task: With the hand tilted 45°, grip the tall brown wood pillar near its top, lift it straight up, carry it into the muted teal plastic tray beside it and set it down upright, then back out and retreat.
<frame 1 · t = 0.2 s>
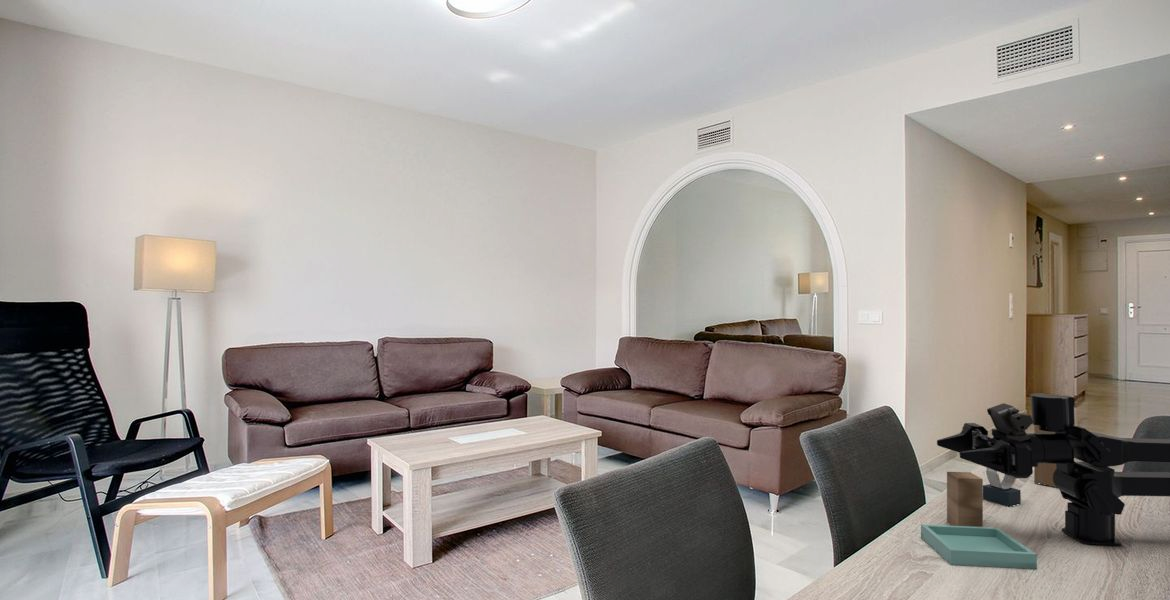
hand: (948, 448, 114), 16 cm above the table, tool horizontal, fingers open, 9 cm apart
tray: (975, 552, 105), on the table
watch: (1001, 502, 131), on the table
tall brown wood pillar: (964, 527, 117), on the table
wooden block: (1059, 487, 142), on the table
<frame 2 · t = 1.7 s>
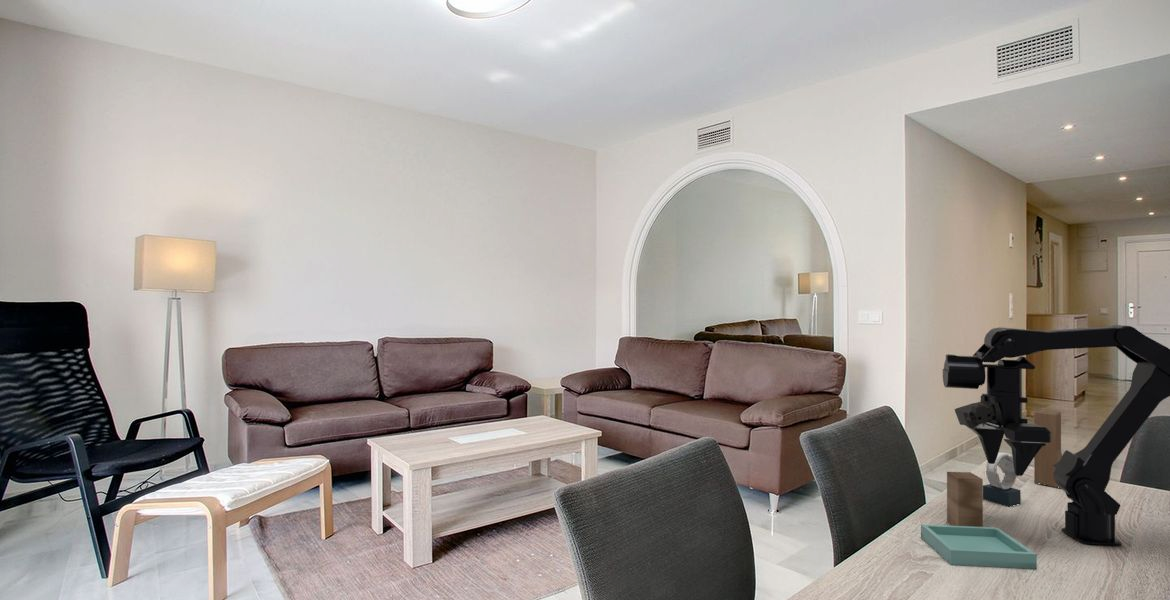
hand: (1004, 469, 116), 12 cm above the table, tool pointing down, fingers open, 9 cm apart
nothing on the table moved.
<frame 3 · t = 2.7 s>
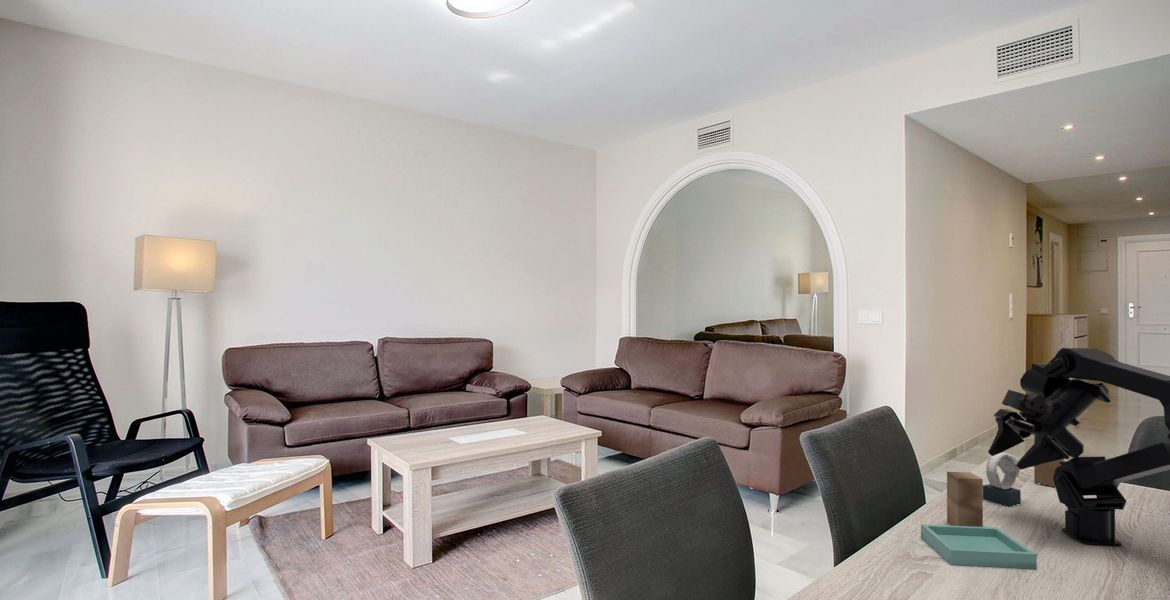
hand: (1003, 460, 116), 14 cm above the table, tool tilted 45°, fingers open, 9 cm apart
nothing on the table moved.
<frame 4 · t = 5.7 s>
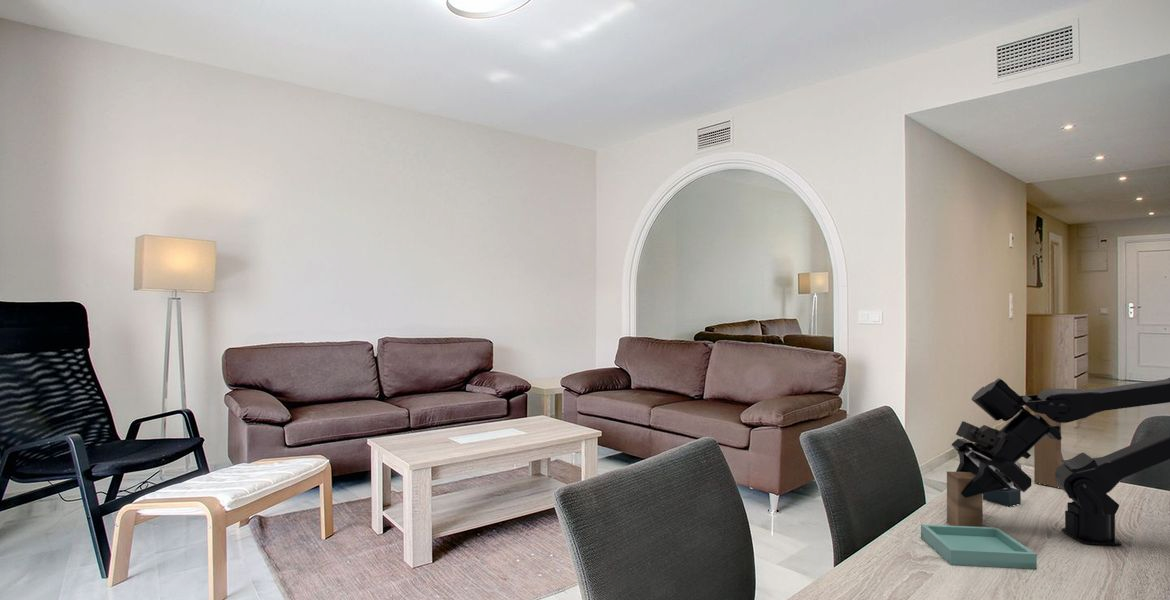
hand: (956, 491, 117), 7 cm above the table, tool tilted 45°, fingers closed on tall brown wood pillar, 4 cm apart
tall brown wood pillar: (964, 527, 117), on the table, touching gripper
everything else where it was.
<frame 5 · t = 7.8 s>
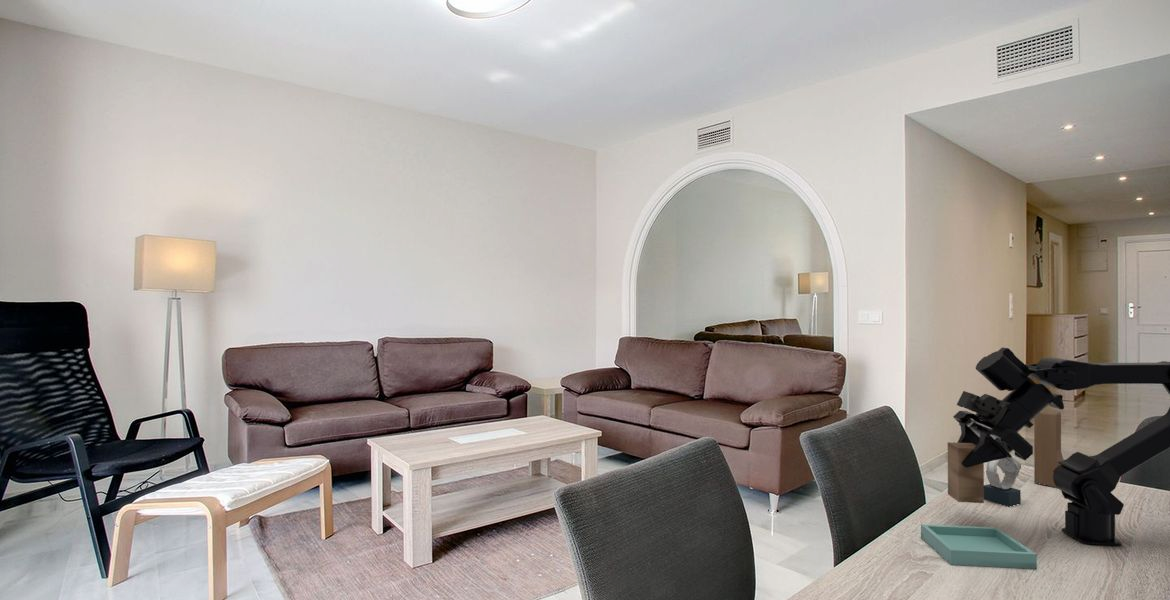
hand: (957, 462, 115), 14 cm above the table, tool tilted 45°, fingers closed on tall brown wood pillar, 4 cm apart
tall brown wood pillar: (965, 498, 115), point 6 cm above the table, touching gripper
everything else where it was.
when the fingers open (10 cm above the table, at t = 10.2 s): tall brown wood pillar drops 1 cm, resting on tray.
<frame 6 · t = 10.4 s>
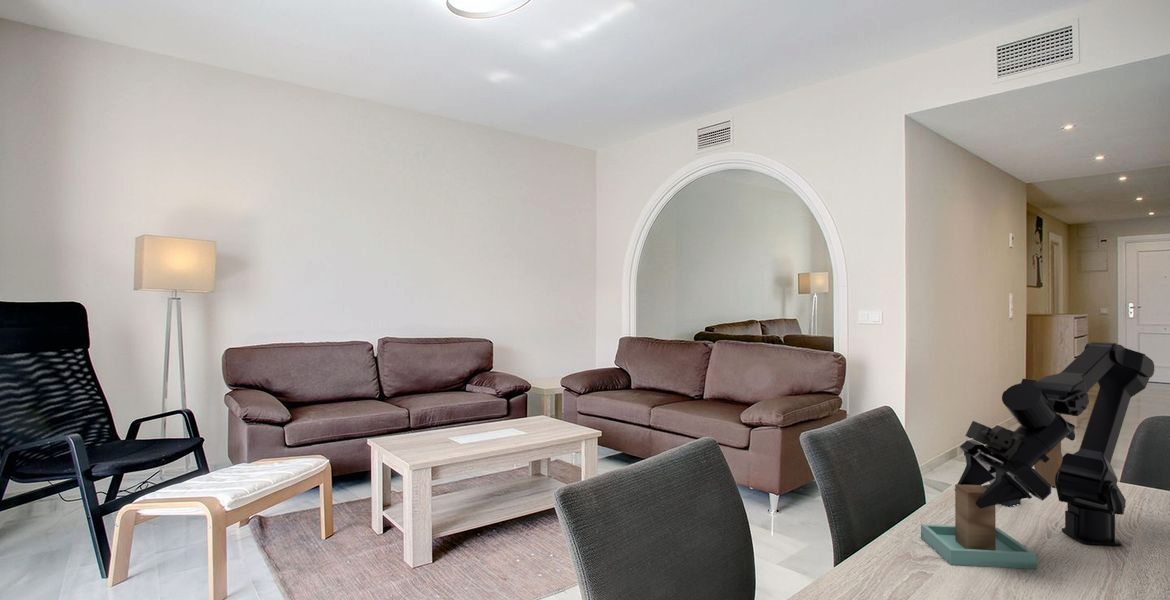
hand: (966, 499, 105), 10 cm above the table, tool tilted 45°, fingers open, 7 cm apart
tall brown wood pillar: (975, 546, 105), point 1 cm above the table, touching tray
everything else where it was.
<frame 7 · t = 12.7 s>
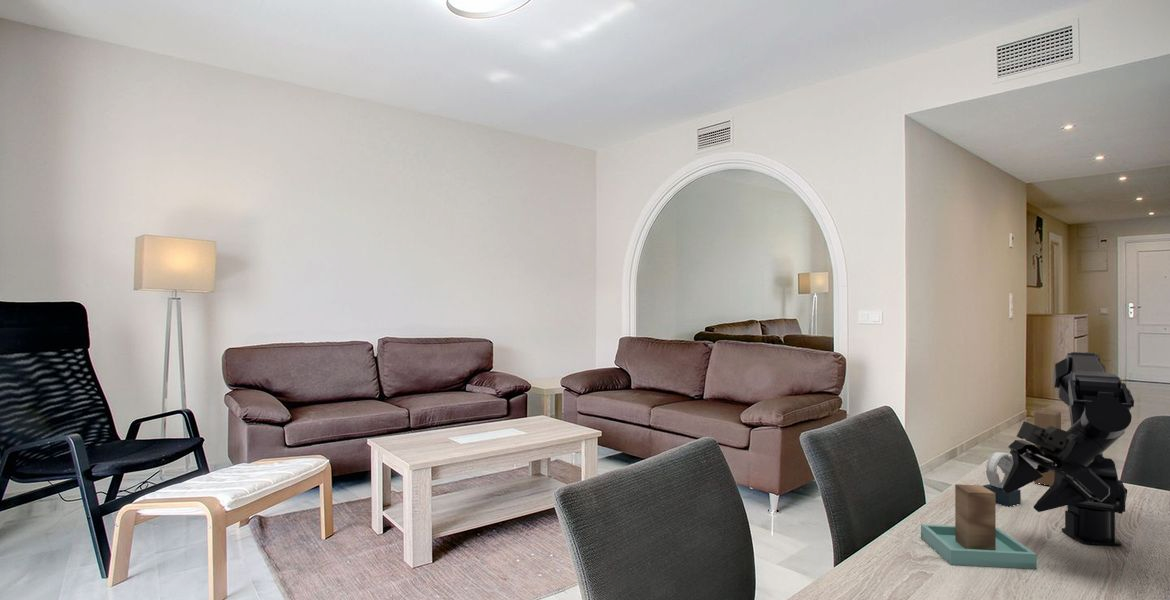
hand: (1019, 500, 104), 10 cm above the table, tool tilted 45°, fingers open, 9 cm apart
nothing on the table moved.
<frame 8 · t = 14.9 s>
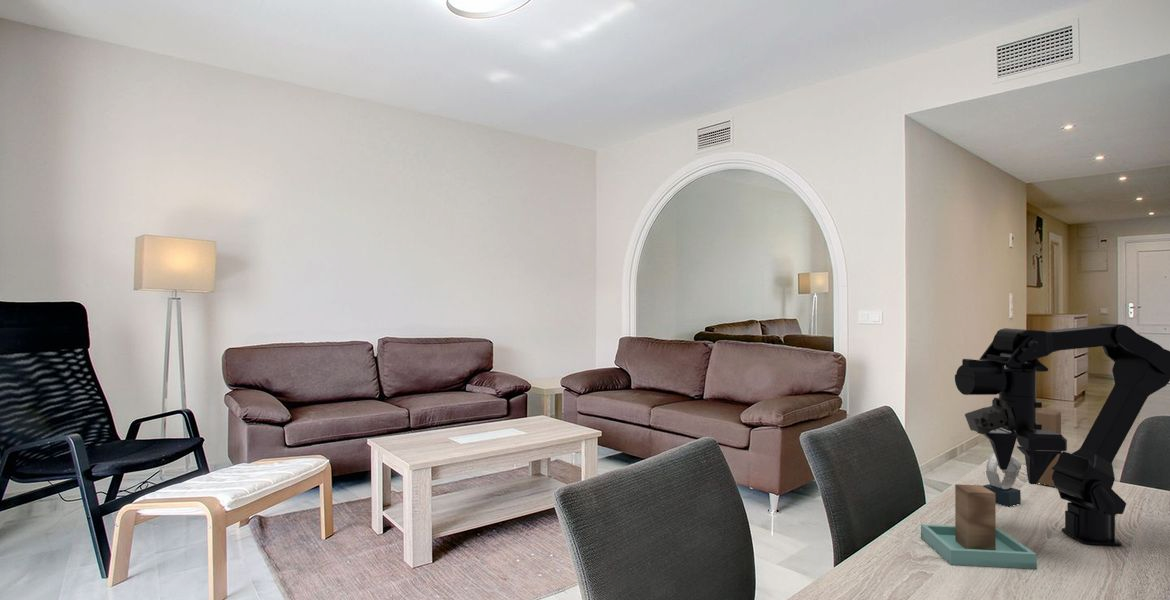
hand: (1017, 476, 111), 12 cm above the table, tool pointing down, fingers open, 9 cm apart
nothing on the table moved.
at the end: tall brown wood pillar 0.0 cm off-centre on the tray, point 1.0 cm above the tray's base; tall brown wood pillar tilted 0°; the gripper is holding nothing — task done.
